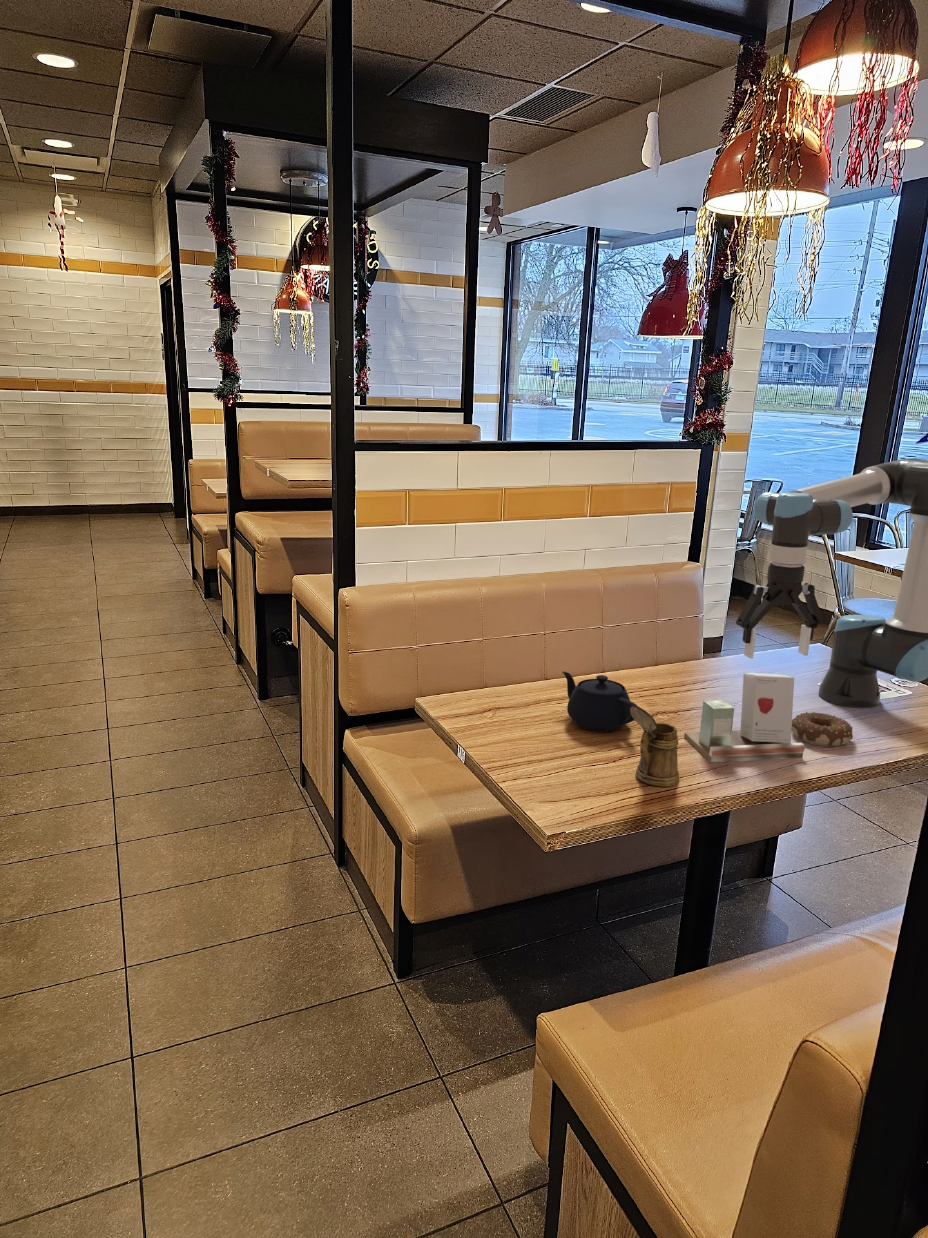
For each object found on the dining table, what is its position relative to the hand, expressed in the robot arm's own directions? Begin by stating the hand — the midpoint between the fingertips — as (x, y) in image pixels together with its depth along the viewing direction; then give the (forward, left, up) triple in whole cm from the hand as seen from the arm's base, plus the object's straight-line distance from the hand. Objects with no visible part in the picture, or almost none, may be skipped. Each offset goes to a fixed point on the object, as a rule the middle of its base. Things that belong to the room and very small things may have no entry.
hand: (775, 655), depth 190 cm
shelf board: (+7, +2, -21) cm, 22 cm away
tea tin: (+14, +3, -20) cm, 25 cm away
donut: (-15, -1, -22) cm, 27 cm away
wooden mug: (+35, +16, -22) cm, 44 cm away
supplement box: (+2, +4, -19) cm, 20 cm away
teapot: (+36, -16, -22) cm, 45 cm away
